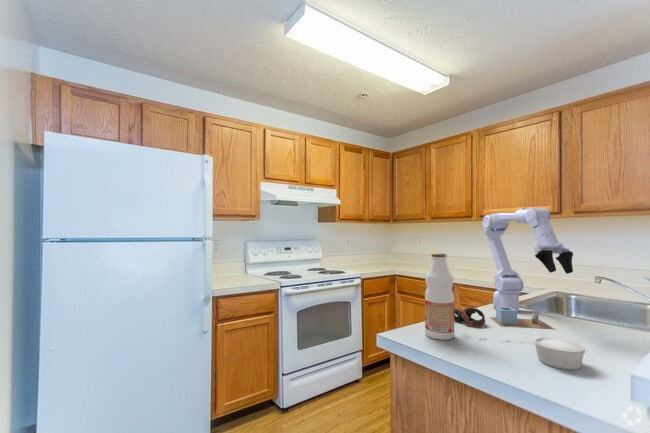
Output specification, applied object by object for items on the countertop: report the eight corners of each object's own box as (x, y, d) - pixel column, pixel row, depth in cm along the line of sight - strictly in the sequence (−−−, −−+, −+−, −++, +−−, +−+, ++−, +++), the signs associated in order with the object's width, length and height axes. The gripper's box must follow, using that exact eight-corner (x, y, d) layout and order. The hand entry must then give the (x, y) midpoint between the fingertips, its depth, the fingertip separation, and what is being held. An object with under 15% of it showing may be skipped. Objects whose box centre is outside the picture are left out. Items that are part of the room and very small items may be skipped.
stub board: (500, 330, 115) (500, 316, 115) (489, 321, 126) (489, 308, 127) (556, 333, 112) (555, 319, 112) (539, 323, 124) (538, 310, 124)
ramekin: (537, 351, 95) (536, 334, 96) (585, 362, 88) (584, 342, 89) (532, 364, 87) (531, 344, 87) (585, 376, 80) (584, 355, 80)
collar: (501, 323, 118) (501, 310, 118) (496, 319, 123) (495, 306, 123) (517, 324, 117) (517, 310, 117) (511, 320, 122) (511, 307, 122)
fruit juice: (437, 342, 103) (437, 255, 104) (419, 332, 112) (419, 252, 113) (460, 338, 106) (460, 254, 107) (441, 330, 115) (440, 252, 116)
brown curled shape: (482, 325, 122) (488, 310, 118) (479, 343, 115) (486, 327, 111) (449, 314, 127) (454, 298, 123) (445, 330, 120) (450, 314, 116)
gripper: (540, 230, 113) (555, 267, 107) (571, 234, 117) (587, 269, 110) (524, 239, 119) (537, 274, 112) (554, 242, 123) (569, 276, 116)
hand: (561, 272), depth 112 cm, fingers open, 7 cm apart
